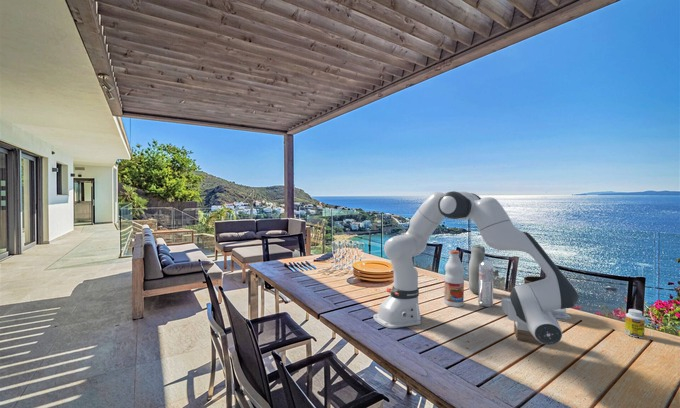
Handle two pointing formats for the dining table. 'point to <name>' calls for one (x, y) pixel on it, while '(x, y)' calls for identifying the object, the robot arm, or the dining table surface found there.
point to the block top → (521, 326)
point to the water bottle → (486, 283)
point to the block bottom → (524, 335)
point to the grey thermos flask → (475, 267)
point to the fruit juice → (454, 281)
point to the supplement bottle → (634, 323)
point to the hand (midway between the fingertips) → (528, 301)
